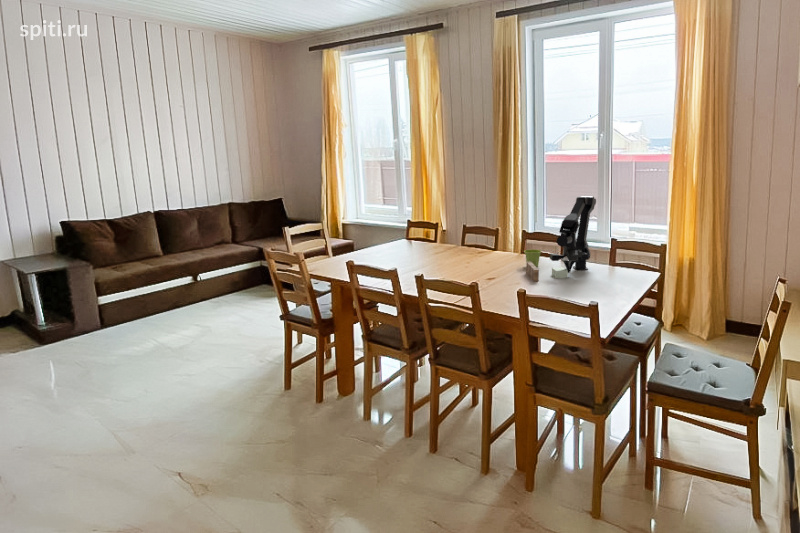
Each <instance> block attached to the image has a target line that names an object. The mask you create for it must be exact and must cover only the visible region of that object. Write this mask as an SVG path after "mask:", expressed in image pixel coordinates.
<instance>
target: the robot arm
mask: <svg viewBox="0 0 800 533" xmlns="http://www.w3.org/2000/svg"><path fill="white" fill-rule="evenodd" d="M596 204H597V199H596V198H595V197H594V196H589V195H585V196H584V195H581V196H577V197H576V198H575V203H574V205H573V207H572V209H571V211H570V213H569V214H568V215H566V216H565V217H564V219H563V220H562V222H561V225H560V228H559V232H558V233H560V235H558V237H557V238H556V244H557V245H558V246H559V247H561V248H563V252H562V254H559V253H556V252H555V253H550V254H549V260H551V261H552V262H554V261H555V262H558V261H561V262H563V264H564V266H565V267H564V268H565V269H566V270H568V274H570V273H571V270H572V268H573V269H575V271H584V270H585V271H587V270H589V268H588V267H587V261H589V260H590V259H591V251H590V249H589V243H588V241H587V235H588V232H589V231H588V230H589V223H590V216H591V213H592V212H593V210H594V209H595V206H596ZM576 235H577V238H576Z"/></svg>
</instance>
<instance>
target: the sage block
mask: <svg viewBox="0 0 800 533" xmlns="http://www.w3.org/2000/svg"><path fill="white" fill-rule="evenodd" d="M568 275H569V273H568V270H566V267H564V266H563V267H551V276H553V277H554V278H555V279H563V278H566V279H567V278H568V277H569V276H568Z"/></svg>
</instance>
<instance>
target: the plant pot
mask: <svg viewBox="0 0 800 533" xmlns="http://www.w3.org/2000/svg"><path fill="white" fill-rule="evenodd" d="M523 252H524V254H525V261H526V264H527V262H532V263H533V264H534V265H535V266H536V267H537V268H538V267H539V263H540V258H541V257H540V256H541V253H542V250H541V249H540V250H539V249H525V250H523Z"/></svg>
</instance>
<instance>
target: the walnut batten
mask: <svg viewBox="0 0 800 533" xmlns="http://www.w3.org/2000/svg"><path fill="white" fill-rule="evenodd" d="M539 272H540V269H539V268H538V267H536V266H535V265H534V264H533V263H532V262H527V263H526V274H527V275H528V277H529V278H530V279H531V281H533V282H539V278H540V277H539V276H540V273H539Z"/></svg>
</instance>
